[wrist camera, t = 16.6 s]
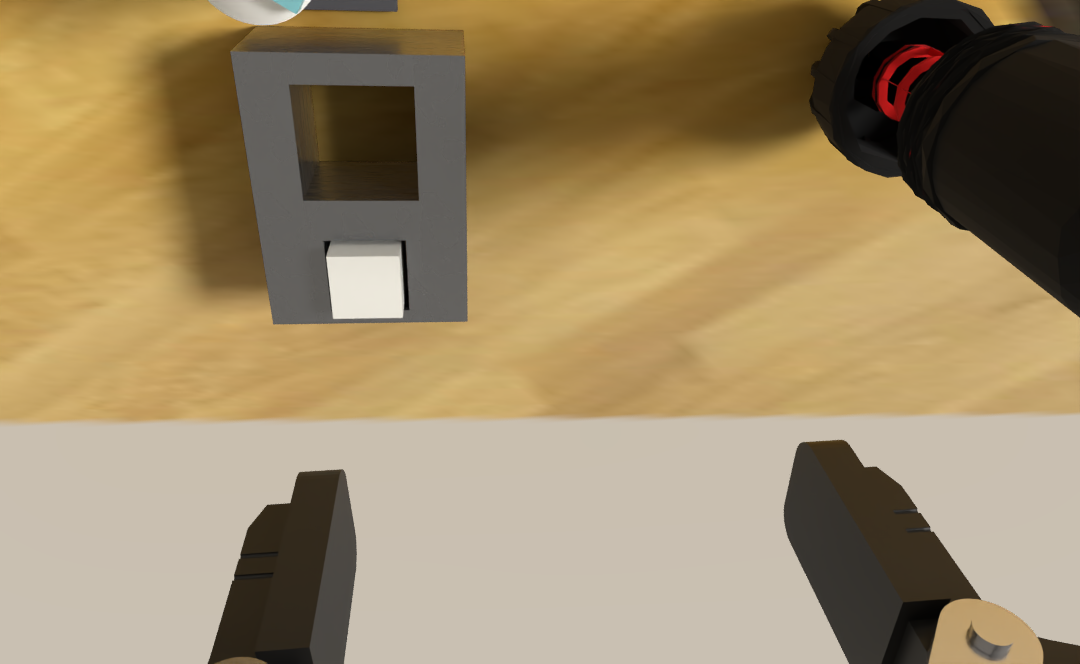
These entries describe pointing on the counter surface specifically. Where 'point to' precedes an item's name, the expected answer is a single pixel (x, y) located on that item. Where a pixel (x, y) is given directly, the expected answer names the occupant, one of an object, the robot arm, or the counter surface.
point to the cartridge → (260, 10)
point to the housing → (355, 165)
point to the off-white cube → (367, 278)
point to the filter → (965, 124)
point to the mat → (353, 5)
